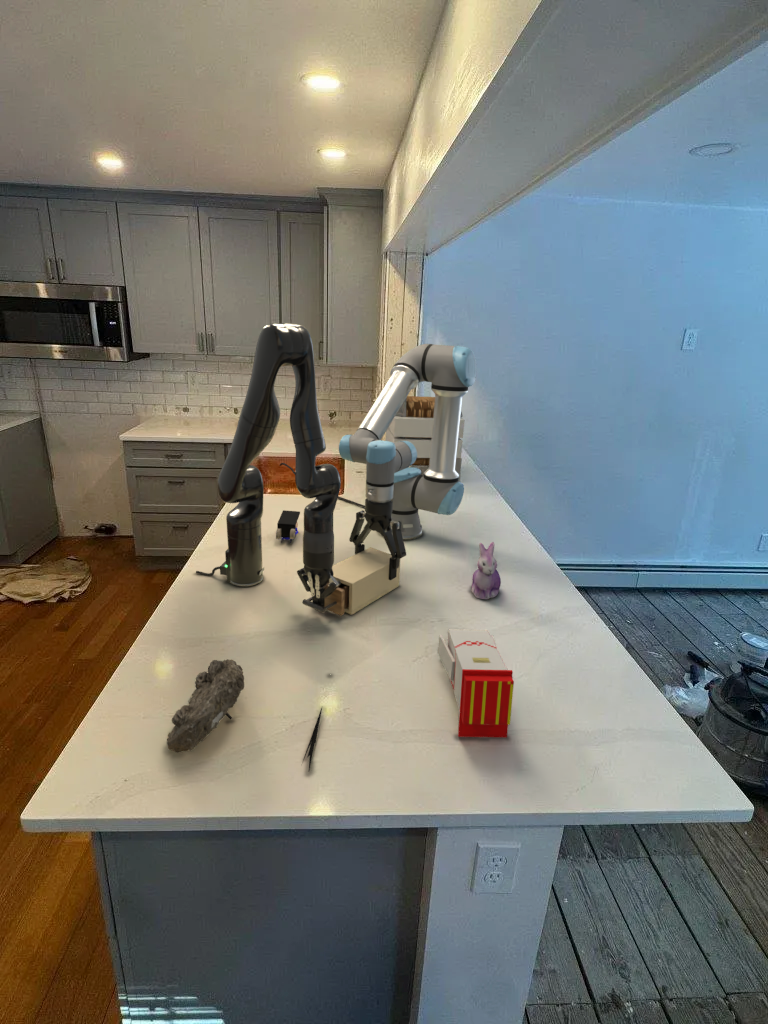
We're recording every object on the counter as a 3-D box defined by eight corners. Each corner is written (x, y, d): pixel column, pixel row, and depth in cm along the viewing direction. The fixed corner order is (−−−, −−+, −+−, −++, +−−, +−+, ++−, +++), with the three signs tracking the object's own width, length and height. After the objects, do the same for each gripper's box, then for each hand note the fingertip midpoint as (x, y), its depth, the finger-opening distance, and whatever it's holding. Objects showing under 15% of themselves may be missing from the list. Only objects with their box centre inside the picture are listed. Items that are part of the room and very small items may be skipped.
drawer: (326, 624, 139) (326, 599, 137) (298, 611, 144) (298, 587, 142) (387, 588, 159) (388, 565, 156) (360, 577, 164) (361, 555, 162)
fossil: (192, 660, 117) (244, 628, 112) (224, 691, 120) (276, 661, 115) (142, 746, 98) (202, 712, 93) (182, 779, 101) (242, 748, 96)
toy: (488, 613, 130) (523, 677, 101) (484, 667, 133) (517, 744, 104) (435, 612, 130) (455, 676, 101) (432, 666, 133) (451, 743, 103)
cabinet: (351, 615, 146) (352, 583, 143) (320, 601, 152) (320, 571, 149) (399, 586, 162) (400, 557, 159) (369, 574, 168) (370, 547, 165)
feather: (331, 679, 122) (336, 673, 122) (307, 777, 96) (313, 769, 95) (324, 675, 122) (329, 669, 121) (298, 772, 95) (304, 764, 95)
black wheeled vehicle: (295, 549, 186) (301, 528, 200) (295, 529, 183) (300, 509, 196) (275, 549, 186) (282, 527, 199) (274, 528, 183) (281, 508, 196)
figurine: (482, 603, 154) (488, 553, 149) (461, 587, 163) (466, 539, 158) (510, 597, 158) (516, 547, 153) (487, 581, 167) (493, 534, 162)
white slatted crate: (382, 463, 289) (386, 382, 275) (445, 464, 293) (451, 384, 279) (390, 482, 257) (394, 392, 243) (460, 483, 261) (468, 394, 247)
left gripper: (287, 543, 138) (289, 606, 144) (329, 558, 131) (328, 623, 137) (308, 534, 144) (309, 595, 150) (349, 548, 136) (348, 611, 142)
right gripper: (337, 492, 157) (336, 564, 164) (406, 512, 144) (402, 589, 151) (354, 486, 163) (352, 556, 170) (422, 505, 150) (417, 580, 157)
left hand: (318, 608), depth 143 cm, fingers closed
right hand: (376, 572), depth 161 cm, fingers closed on cabinet, 11 cm apart
